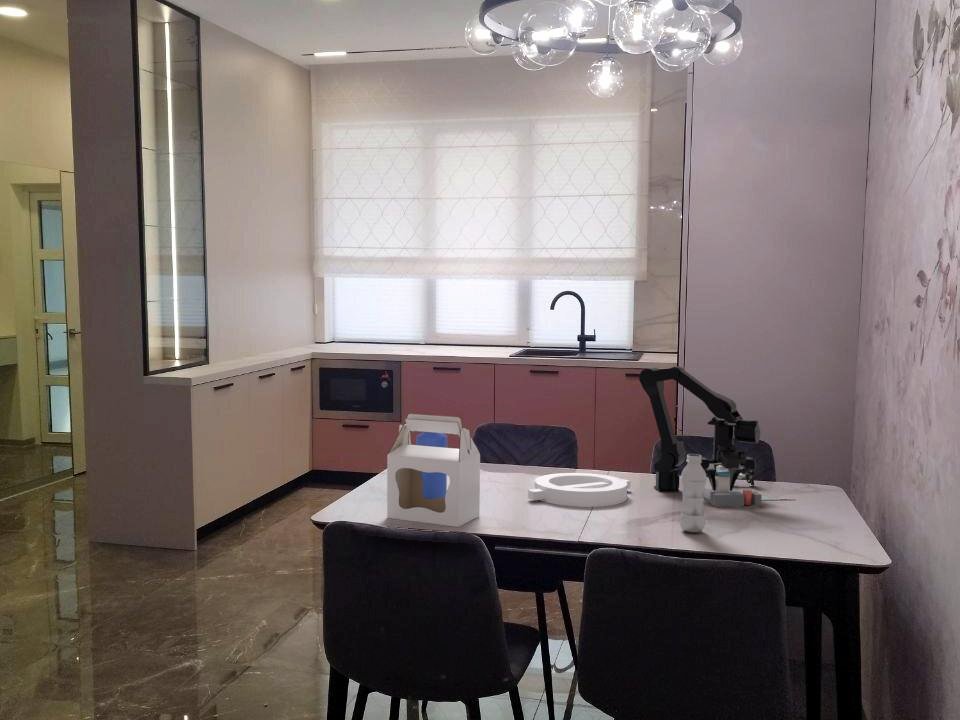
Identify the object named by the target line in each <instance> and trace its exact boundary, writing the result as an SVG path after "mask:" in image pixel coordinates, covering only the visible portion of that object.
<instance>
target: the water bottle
mask: <svg viewBox="0 0 960 720" xmlns="http://www.w3.org/2000/svg"><path fill="white" fill-rule="evenodd" d="M415 445H425V446H437V447H448V435H446V434H445V433H435V432H421V433H420V434H417V435H416V436H415ZM420 473H421V476H422V480H423V491H422V493H423V496H424V497H425V498H428V499H434V498H440V497H444V498H445V495H446V492H447V489H448V486H447V485H448V483H447V482H448V475H447V474H444V473H440V472H432V473H427V472H422V471H420Z"/></svg>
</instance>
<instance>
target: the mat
mask: <svg viewBox="0 0 960 720" xmlns="http://www.w3.org/2000/svg"><path fill="white" fill-rule="evenodd" d="M761 501H781V500H780V499H779V498H773V497H771V498H768V497H767V496H761ZM786 501H790V500H789V499H787V500H786Z"/></svg>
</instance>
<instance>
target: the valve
mask: <svg viewBox="0 0 960 720" xmlns="http://www.w3.org/2000/svg"><path fill="white" fill-rule="evenodd" d="M715 467H716V468H715V470H727V471H729V469H727V468H724V467H723V466H715ZM755 472H756V470H755V469H749V471H746V473H744V474H743V472H741V473H740V474H739V475H738V477H737V480H743V479H745V480H746V483H748V484H751V485H753V486H755V479H756V476H755Z"/></svg>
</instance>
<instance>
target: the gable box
mask: <svg viewBox="0 0 960 720" xmlns="http://www.w3.org/2000/svg"><path fill="white" fill-rule="evenodd" d="M404 420H405V424H399V427H398V434H397V436H396V438H395V439H394V441H393V444H392V446H391V448H390V449H389V451H388V453H387V456H386V457H387V462H386V464H387V465H386V467H387V468H386V470H387V471H386V473H387V474H386V476H387V477H386V478H387V479H386V481H387V483H386V484H387V485H386V489H387V490H386V491H387V493H386V498H387V499H386V509H387V510H386V515H387V516H386V517H387V519H392V520H400V521H409V522H415V523H423V524H432V525H438V526H445V527H446V526H447V527H455V528H459V527H462V526H464V525H465V524H467V523H469V522H471V521H473V520H475V519H477V518H478V517H480V506H481V505H480V503H481V502H480V500H481V499H480V498H481V496H480V494H481V486H480V485H481V484H480V483H481V454H480V451H479V450H478V447H477V445H476V444H475V442H474V440H473V439H472V437H471V430H470V429H467V428H465V427H464V426H463V421H462V418H461V417H459V416H447V415H433V414H432V415H431V414H422V413H421V414H419V413H409V414H408V415H407V417H406V418H404ZM411 432H421V433H423V432H435V433H443V434H449V435H452V434H453V435H454V436H455V435H458V437H459V446H458V447H459V448H458V447H457V448H456V447H448V446H447V447H437V446H425V445H416V444H412V442H411ZM420 471H422V472H427V473H432V472H440V473H444V474H447V477H449V485H448V486H447V492H446V495H445V498H444V497H440V498H434V499H428V498H425V497H424V496H423V493H422V491H423V480H422V476H421V473H420Z"/></svg>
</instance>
